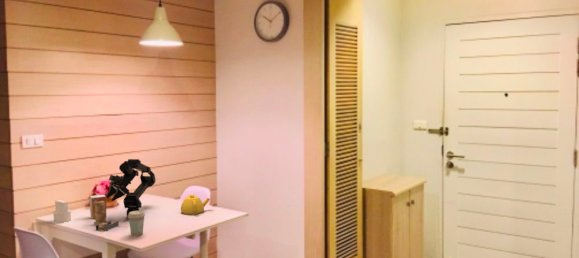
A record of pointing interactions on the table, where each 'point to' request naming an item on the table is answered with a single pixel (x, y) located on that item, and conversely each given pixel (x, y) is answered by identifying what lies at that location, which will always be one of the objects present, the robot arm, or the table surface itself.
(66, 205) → the cylinder with rectangular tab
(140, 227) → the coffee cup
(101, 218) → the tan flared column
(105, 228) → the steel rack
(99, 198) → the small box
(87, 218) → the table surface
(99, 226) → the offcut stack
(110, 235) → the table surface
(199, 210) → the teapot
